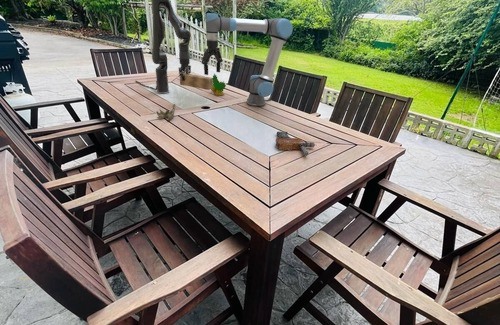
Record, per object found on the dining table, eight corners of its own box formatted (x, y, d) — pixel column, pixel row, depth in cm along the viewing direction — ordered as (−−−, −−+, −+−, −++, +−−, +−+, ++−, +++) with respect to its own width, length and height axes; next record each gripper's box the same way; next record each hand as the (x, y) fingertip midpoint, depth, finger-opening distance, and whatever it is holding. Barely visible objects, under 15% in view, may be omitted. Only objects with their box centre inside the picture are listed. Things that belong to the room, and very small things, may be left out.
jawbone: (182, 108, 180) (175, 98, 171) (172, 126, 173) (165, 116, 165) (170, 106, 182) (164, 96, 174) (161, 124, 176) (153, 114, 168)
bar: (180, 84, 209) (179, 74, 205) (184, 83, 214) (183, 73, 209) (209, 89, 202) (209, 79, 198) (212, 88, 206) (212, 77, 202)
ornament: (225, 100, 236) (233, 86, 230) (219, 99, 230) (226, 84, 223) (213, 88, 246) (220, 74, 239) (206, 87, 239) (213, 72, 232)
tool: (272, 130, 160) (281, 150, 133) (314, 131, 162) (332, 151, 136) (271, 136, 161) (280, 157, 135) (313, 137, 164) (330, 158, 138)
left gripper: (185, 55, 207) (186, 77, 215) (174, 57, 195) (176, 80, 204) (193, 57, 205) (194, 79, 213) (183, 59, 193) (184, 82, 201)
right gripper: (204, 41, 161) (205, 76, 172) (227, 40, 180) (227, 71, 191) (195, 40, 164) (196, 75, 175) (218, 39, 183) (218, 70, 194)
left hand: (185, 79), depth 208 cm, fingers closed on bar, 5 cm apart
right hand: (212, 73), depth 183 cm, fingers open, 13 cm apart
